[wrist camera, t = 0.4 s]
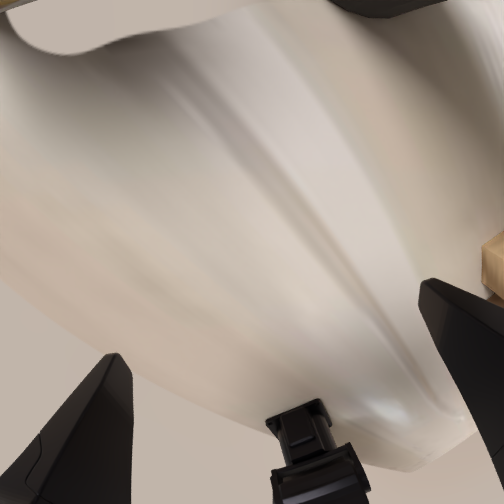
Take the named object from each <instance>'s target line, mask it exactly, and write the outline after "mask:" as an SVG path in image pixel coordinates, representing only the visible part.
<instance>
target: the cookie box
mask: <svg viewBox="0 0 504 504" xmlns="http://www.w3.org/2000/svg"><path fill="white" fill-rule="evenodd" d="M33 1H36V0H0V13H2V12H4V11H7V10H9V9H12V8H15V7H18V6H20V5H23V4H27V3H30V2H33Z"/></svg>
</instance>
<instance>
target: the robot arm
mask: <svg viewBox="0 0 504 504" xmlns="http://www.w3.org/2000/svg"><path fill="white" fill-rule="evenodd" d="M418 306H419V310H420V312H421V314H422V316H423V319H424V321H425V323H426V325H427V327H428V330H429V332H430V334H431V337H432V339H433V341H434V343H435V346H436V348H437V350H438V352H439V354H440V356H441V357H442V359H443V361H444V363H445V365H446V366H447V368H448V370H449V372H450V374H451V376H452V378H453V379H454V381H455V383H456V385H457V387H458V389H459V391H460V393H461V395H462V397H463V399H464V401H465V403H466V405H467V407H468V409H469V411H470V413H471V415H472V417H473V419H474V421H475V423H476V425H477V428H478V430H479V432H480V434H481V436H482V438H483V441H484V443H485V445H486V447H487V450H488V452H489V454H490V457H491V458H492V462H493V464H494V467H495V469H496V472H497V474H498V476H499V479H500V482H501V484H502V487H503V489H504V308H502V307H500V306H498V305H496V304H494V303H491V302H489V301H487V300H485V299H482V298H480V297H478V296H476V295H473V294H471V293H469V292H467V291H464V290H462V289H460V288H457V287H455V286H453V285H450V284H448V283H446V282H443V281H441V280H439V279H436V278H430V279H427V280H424V281H422V282H421V285H420V292H419V300H418ZM133 413H134V411H133V377H132V372H131V370H130V368H129V367H128V365H127V364H126V363H125V361H124V360H123V358H122V357H121V355H120V354H119V353H110V354H106V355H105V356H104V357H103V358H102V359H101V360H100V361H99V362H98V364H97V365H96V366H95V367H94V368H93V369H92V370H91V372H90V373H89V374H88V375H87V376H86V377H85V378H84V380H83V381H82V382H81V383H80V384H79V386H78V387H77V388H76V389H75V390H74V391H73V393H72V394H71V395H70V396H69V397H68V398H67V400H66V401H65V402H64V403H63V405H62V406H61V407H60V408H59V409H58V410H57V412H56V413H55V414H54V415H53V416H52V418H51V419H50V420H49V421H48V422H47V424H46V425H45V426H44V427H43V428H42V430H41V431H40V434H38V435H37V436H36V437H35V438H34V440H33V441H32V442H31V443H30V444H29V446H28V447H27V448H26V449H25V450H24V452H23V453H22V454H21V455H20V456H19V457H18V458H17V459H16V460H15V462H14V463H13V464H12V465H11V466H10V467H9V468H8V469H7V470H6V471H5V472H4V473H3V474H2V475H1V476H0V504H131V471H132V445H133V426H134V414H133ZM265 423H266V426H267V427H268V428H269V429H270V430H271V432H272V433H273V434H274V435H275V436H276V438H277V439H278V440H279V442H280V446H281V449H282V453H283V456H284V460H285V463H286V467H283V468H279V469H274V470H271V473H272V476H271V477H270V480H271V484H272V489H273V504H369V501H368V498H367V496H366V493H367V492H370V491H371V487H370V484H369V481H368V479H367V476H366V474H365V472H364V469H363V467H362V465H361V463H360V461H359V459H358V457H357V455H356V453H355V451H354V449H353V447H352V445H351V443H350V442H349V443H346V444H345V445H343V446H341V447H338V448H337V446H336V443H335V441H334V438H333V436H332V434H331V431H330V429H329V428H330V427H331V426H332V422H331V420H330V418H329V416H328V414H327V412H326V410H325V408H324V406H323V404H322V402H321V400H320V399H315V400H313V401H311V402H308V403H306V404H304V405H301V406H299V407H297V408H294V409H292V410H289V411H287V412H284V413H282V414H279V415H277V416H274V417H272V418H269V419H267V420H266V421H265Z"/></svg>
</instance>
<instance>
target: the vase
mask: <svg viewBox="0 0 504 504" xmlns="http://www.w3.org/2000/svg"><path fill="white" fill-rule="evenodd" d="M331 1H333V2H334V3H336V4H338V5H339V6H341V7H342V8H344V9H345V10H347V11H350V12H353V13H356V14H359V15H362V16H365V17H368V18H391V17H394V16H397V15H400V14H403V13H406V12H409V11H412V10H416V9H419V8H422V7H425V6H429V5H432V4H436V3H440V2H443V1H447V0H331Z"/></svg>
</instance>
